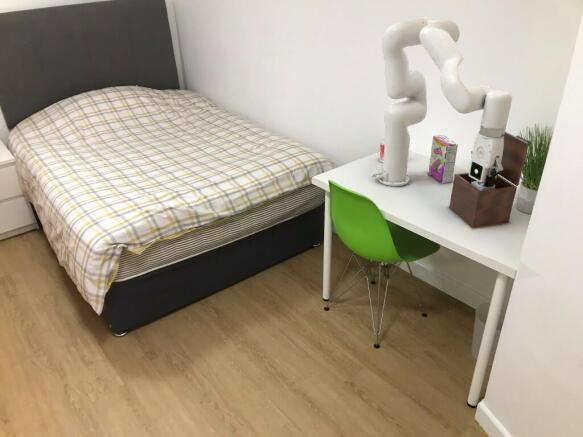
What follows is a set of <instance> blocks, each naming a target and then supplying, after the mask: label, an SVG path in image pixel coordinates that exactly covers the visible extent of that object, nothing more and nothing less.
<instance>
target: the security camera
mask: <svg viewBox="0 0 583 437" xmlns="http://www.w3.org/2000/svg"><path fill="white" fill-rule="evenodd" d="M493 166H494V164H493ZM493 166H492V167H493ZM487 171H488V169H486V168H485V165H484V164H483V163H481V162H480V161H478V160H477V159H472V158H471V159H470V164H469V168H468V172H469V177H471V178H473V179H475V180H477V181H474V182H471V184H472V185H473V186H474V187H476V188H477V189H478V190H480V191H483V190H490V189H494V188H495V185H494V186H493V187H484V184H485V180H486V176H488V172H487ZM491 172H493V168H492V169H491ZM496 177H497V176H496ZM496 177H495V179H496Z"/></svg>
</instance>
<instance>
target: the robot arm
mask: <svg viewBox="0 0 583 437" xmlns="http://www.w3.org/2000/svg"><path fill="white" fill-rule="evenodd" d="M459 39H460V28H459V26H458V25H457V23H456V22H454V21H453V20H449V19H429V18H420V19H411V20H404V21H399V22H396V23H393V24H391V25H390V26H388V28H386V30H385V31H384V32H383V35H382V38H381V50H382V55H383V60H384V74H385V87H386V88H385V89H386V94H387V96H388V97H389V98H390V99H391V100H401V99H405V100H404V101H399V102H396V103H393V104H391V105H390V106H388V107H387V108H386V110H385V111H384V117H383V118H384V131H385V132H384V139H385V147H384V158H383V162H382V168H379V170H378V171H373V172H370V177H371V178H375V179H377V181H378V182H380V184H382V185H385V186H389V187H403V186H406V185H408V184H409V183H410V180H411V179H410V178H411V177H410V176H409V175H408V174H407V172H408V171H407V170H408V163H409V162H408V161H409V152H410V143H411V135H410V133H409V130H408V127H411V126H414V125H417V124H419V123H422V122H423V121H424V120H425V118H426V117H427V114H428V113H427V112H428V98H427V95H428V94H427V82H426V78H425V75H423V72H421V71H419V70H418V69H410V66H409V65H410V64H409V57H408V54H407V52H406V51H405V49H404V48H407V47H415V46H422V47H423V49H424V50H425V51H426V53H427V54H428V56H429V57H430V59H431V60H432V61H433V63H434V64H435V66H436V67H437V69H438V70H439V72H440V78H439V80H440V87H441V90H442V93H443V95H444V97H445V98H446V100H447V102H448V103H449V104H450V106H451V107H452V108H453V109H454V110H455V111H456V112H458V113H459V114H463V115H466V114H471V113H473V112H476V111H482V115H481V121H480V127H479V131H478V132H477V134H476V136H475V138H474V142H473V146H472V150H471V151H470V155H471V156H470V159H471V160H472V159H477V160H478V161H480V162H481V163H483V164H484V165H485V168H486V169H488V171H487V172H488V176H486V180H485V184H484V187H493V186H494V182H495V177H496V176H497V175H499V173H500V172H501V171H503V167H502V165H501V160H502V155H503V147H504V135H505V132H506V131H507V126H508V119H509V117H510V111H511V107H512V102H513V94H512V93H511V92H509V91H506V90H501V89H500V90H498V89H496V88H493V87H491V86H488V85H485V84H480V85H476V86H472V87H466V85H465V84H464V82H463V81H462V79H461V78H460V75H459V67H460V66H461V65H462V64H463V61H464V59H465V55H464V53H463V51H461V49H460V48H459V46H458V45H457V42H458V41H459ZM493 164H494V166H493ZM492 166H493V167H492ZM492 168H493V172H491V169H492Z"/></svg>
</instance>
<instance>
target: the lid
mask: <svg viewBox="0 0 583 437" xmlns="http://www.w3.org/2000/svg"><path fill="white" fill-rule="evenodd" d="M530 145H531V140H528V139H526V138H524V137H522V136H520V135H514V134H512V133H510V132H508V131H505V135H504V147H503V155H502V160H501V165H502V167H503V171H501V172H500V173H499V174H498V175H499V176H500V177H502V178H504V179H505V180H507V181H508V182H510V183H511V184H513V185H514V186H516V187H518V186H520V180H521V177H522V173H523V169H524V165H525V161H526V157H527V152H528V149H529V147H530Z"/></svg>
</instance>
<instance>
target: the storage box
mask: <svg viewBox="0 0 583 437" xmlns="http://www.w3.org/2000/svg"><path fill="white" fill-rule="evenodd" d="M453 176H454V177H453V183H452V189H451V195H450V201H449V206H448V207H449V210H450V211H451V212H453V213H454V214H455V215H457V216H458V217H459V218H460V219H461V220H462V221H463V222H465V223H466V224H467V225H468V226H469V227H470V228H472V229H476V228H483V227H489V226H496V225H501V224H509V222H510V217H511V215H512V214H511V213H512V210H513V206H514V202H515V197H516V193H517V189H518V186H516V185H514V184H513V183H511V182H510V181H508V180H506V179H505V178H503V177H502V176H500V175H499V174H498V175H497V177H496V179H495V182H494V185H495V188H494V189H490V190H483V191H480V190H478V189H477V188H476V187H474V186H473V185H472V184H471V182H474V181H477V180H475V179H473V178H471V177H469V171H468V172H460V173H454V175H453Z"/></svg>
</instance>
